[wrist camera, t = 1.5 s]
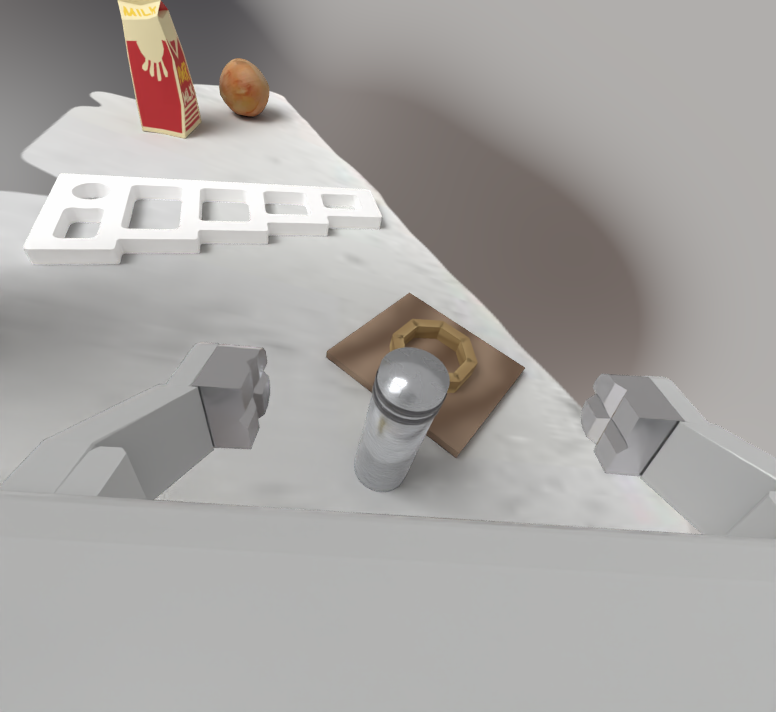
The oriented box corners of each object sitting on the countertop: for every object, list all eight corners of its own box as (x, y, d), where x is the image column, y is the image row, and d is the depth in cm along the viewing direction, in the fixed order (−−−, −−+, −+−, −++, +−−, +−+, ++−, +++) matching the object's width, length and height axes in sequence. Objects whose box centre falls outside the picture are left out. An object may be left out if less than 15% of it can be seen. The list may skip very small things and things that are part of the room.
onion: (278, 122, 87) (277, 68, 80) (234, 125, 82) (229, 67, 75) (257, 105, 92) (254, 52, 84) (214, 107, 86) (207, 50, 79)
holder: (367, 203, 72) (369, 189, 70) (394, 265, 61) (398, 250, 59) (67, 191, 58) (59, 173, 56) (32, 268, 47) (21, 249, 45)
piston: (341, 466, 37) (362, 372, 27) (376, 432, 40) (407, 335, 30) (384, 504, 36) (423, 419, 25) (417, 465, 39) (464, 375, 29)
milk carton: (201, 121, 81) (182, -11, 66) (187, 139, 74) (163, -2, 60) (152, 112, 79) (122, -25, 65) (134, 130, 73) (96, -17, 58)
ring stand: (326, 357, 46) (328, 339, 44) (407, 298, 55) (412, 281, 53) (456, 457, 40) (465, 443, 38) (521, 372, 50) (532, 357, 48)
